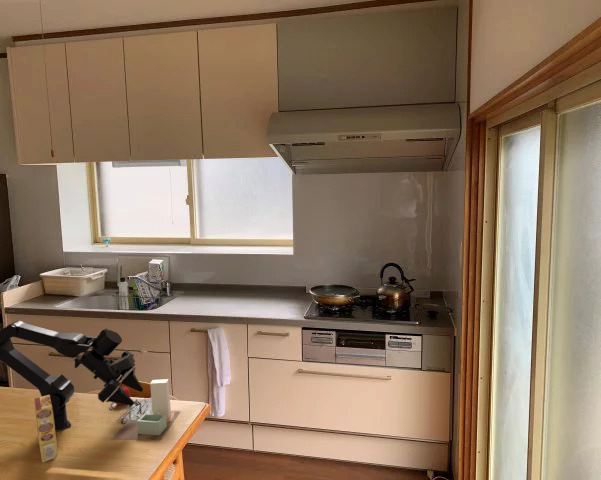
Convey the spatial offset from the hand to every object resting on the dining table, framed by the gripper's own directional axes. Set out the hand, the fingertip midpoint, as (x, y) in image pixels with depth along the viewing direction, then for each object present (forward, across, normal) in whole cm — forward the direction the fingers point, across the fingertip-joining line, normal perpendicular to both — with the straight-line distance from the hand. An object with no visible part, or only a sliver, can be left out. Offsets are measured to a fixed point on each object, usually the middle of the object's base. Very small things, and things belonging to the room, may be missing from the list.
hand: (138, 397), depth 142 cm
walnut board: (+8, -4, +3) cm, 10 cm away
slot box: (+9, -7, +1) cm, 12 cm away
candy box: (-9, -15, +21) cm, 27 cm away
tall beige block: (+10, 0, 0) cm, 10 cm away
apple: (-1, +12, +13) cm, 18 cm away
